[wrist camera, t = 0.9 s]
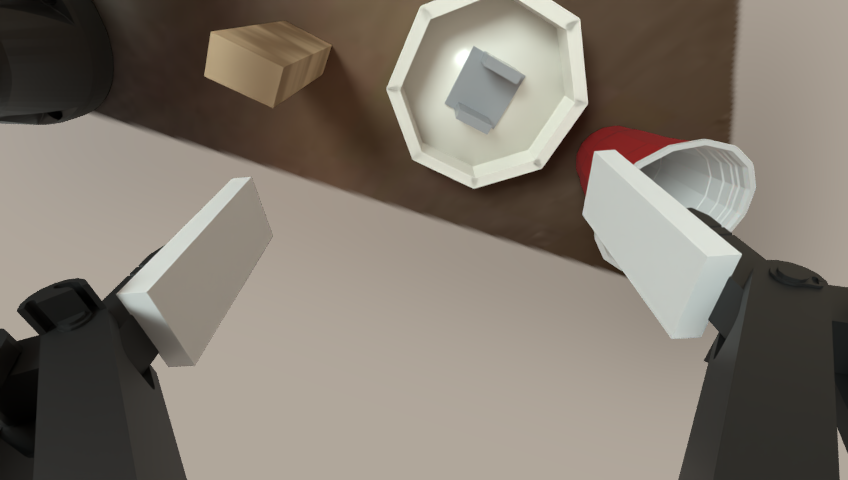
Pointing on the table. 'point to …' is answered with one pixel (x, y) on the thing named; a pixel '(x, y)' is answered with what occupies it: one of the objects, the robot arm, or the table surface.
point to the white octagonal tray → (489, 86)
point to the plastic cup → (679, 171)
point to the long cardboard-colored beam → (266, 60)
